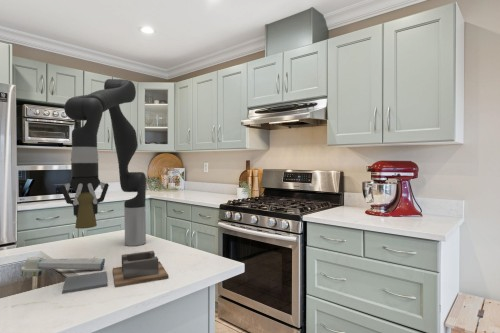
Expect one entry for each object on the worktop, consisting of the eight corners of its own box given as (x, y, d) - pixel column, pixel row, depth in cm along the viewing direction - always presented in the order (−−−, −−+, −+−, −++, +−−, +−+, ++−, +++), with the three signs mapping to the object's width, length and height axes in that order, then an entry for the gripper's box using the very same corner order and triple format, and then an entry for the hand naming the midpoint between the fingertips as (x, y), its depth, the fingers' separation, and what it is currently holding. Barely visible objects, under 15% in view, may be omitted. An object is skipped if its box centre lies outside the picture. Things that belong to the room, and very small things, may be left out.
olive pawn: (92, 228, 96) (91, 192, 95) (71, 228, 95) (70, 192, 95) (99, 224, 102) (99, 190, 101) (80, 224, 101) (80, 190, 101)
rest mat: (66, 279, 101) (65, 277, 101) (106, 273, 107) (106, 271, 107) (62, 293, 91) (62, 290, 91) (107, 286, 96) (107, 283, 96)
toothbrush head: (103, 260, 109) (20, 257, 102) (100, 279, 109) (17, 277, 102) (105, 256, 114) (26, 252, 107) (103, 274, 114) (24, 272, 107)
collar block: (112, 270, 109) (112, 253, 109) (159, 264, 116) (159, 247, 116) (115, 287, 95) (114, 267, 95) (168, 278, 102) (168, 260, 102)
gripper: (109, 161, 105) (110, 212, 105) (59, 161, 98) (60, 216, 99) (110, 161, 98) (111, 216, 98) (57, 161, 92) (58, 220, 92)
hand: (85, 216), depth 98 cm, fingers closed on olive pawn, 4 cm apart
